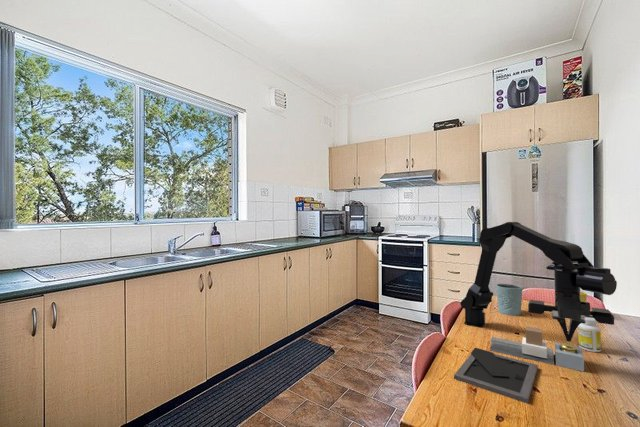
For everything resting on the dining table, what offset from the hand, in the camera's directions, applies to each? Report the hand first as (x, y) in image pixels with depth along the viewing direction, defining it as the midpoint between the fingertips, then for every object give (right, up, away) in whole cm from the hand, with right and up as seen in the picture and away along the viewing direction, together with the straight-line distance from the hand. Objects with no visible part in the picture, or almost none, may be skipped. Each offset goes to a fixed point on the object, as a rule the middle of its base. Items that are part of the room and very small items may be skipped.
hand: (568, 340), depth 86 cm
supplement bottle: (+14, -7, +9) cm, 18 cm away
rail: (-9, -7, +7) cm, 13 cm away
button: (0, -5, 0) cm, 5 cm away
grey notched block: (0, -6, 0) cm, 6 cm away
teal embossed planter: (+13, -8, +47) cm, 49 cm away
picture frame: (-24, -7, -6) cm, 26 cm away
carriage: (-6, -7, +5) cm, 10 cm away
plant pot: (+39, -7, +45) cm, 60 cm away
